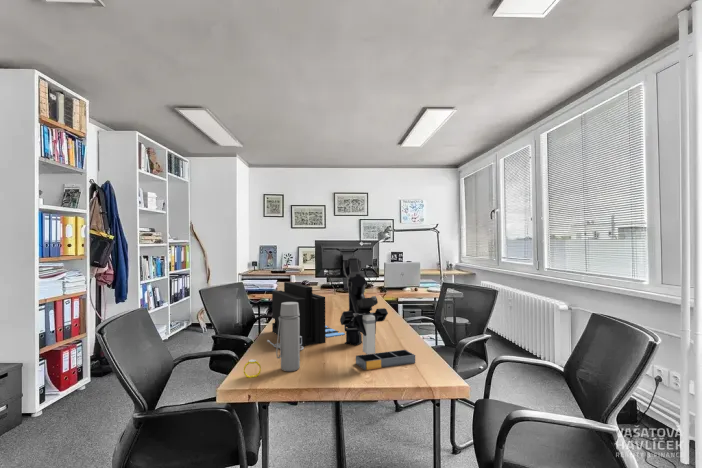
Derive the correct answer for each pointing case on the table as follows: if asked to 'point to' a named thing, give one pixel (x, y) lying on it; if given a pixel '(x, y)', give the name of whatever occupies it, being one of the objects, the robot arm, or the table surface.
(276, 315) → the game console
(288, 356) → the water bottle
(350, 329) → the robot arm
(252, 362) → the yellow ring
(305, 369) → the table surface
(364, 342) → the white capped pillar
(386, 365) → the rack
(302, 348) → the wall mount rack
